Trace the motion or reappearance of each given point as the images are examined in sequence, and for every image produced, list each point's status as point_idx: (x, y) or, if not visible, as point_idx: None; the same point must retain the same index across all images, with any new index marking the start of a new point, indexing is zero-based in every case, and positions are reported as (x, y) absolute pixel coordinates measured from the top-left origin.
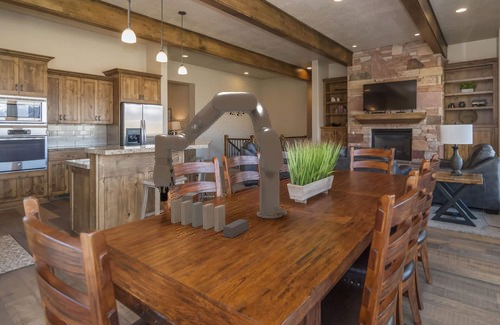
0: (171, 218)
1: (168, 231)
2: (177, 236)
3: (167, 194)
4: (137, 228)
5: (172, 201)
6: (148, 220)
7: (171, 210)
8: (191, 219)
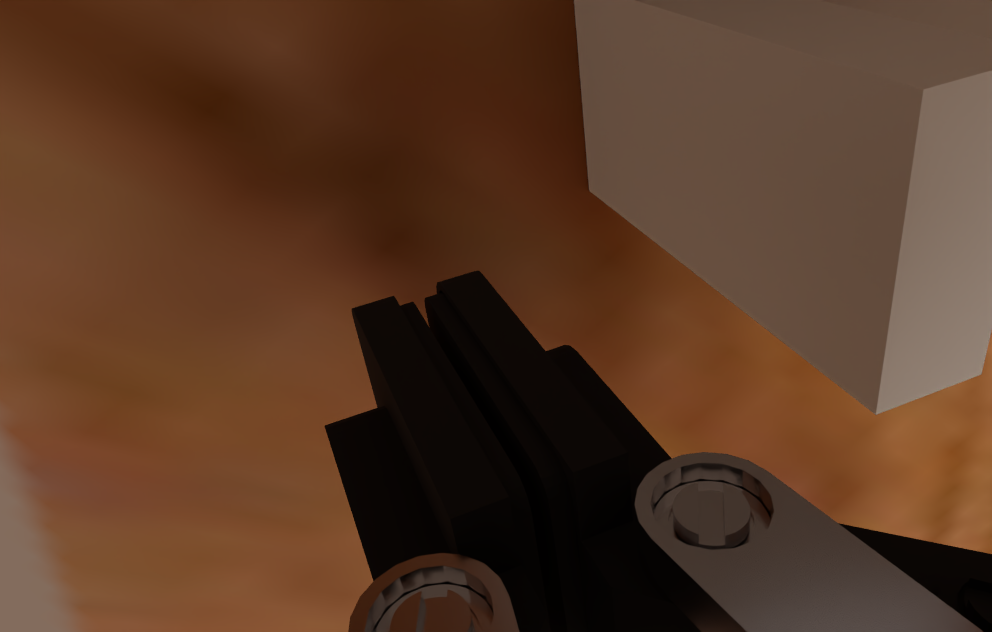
0: (634, 218)
1: (817, 392)
2: (982, 387)
3: (657, 452)
4: None
5: (929, 388)
6: (128, 412)
7: (730, 285)
8: None
